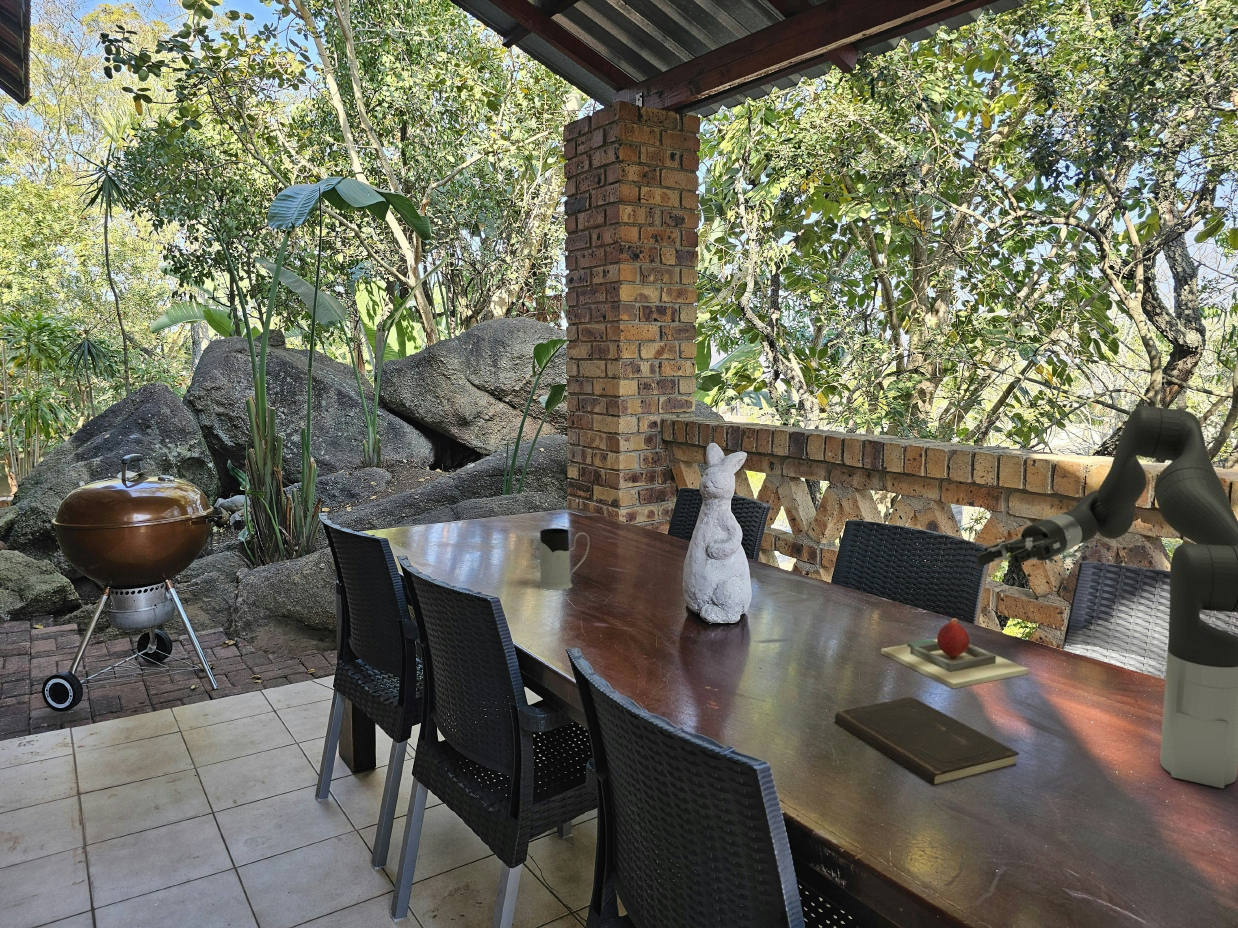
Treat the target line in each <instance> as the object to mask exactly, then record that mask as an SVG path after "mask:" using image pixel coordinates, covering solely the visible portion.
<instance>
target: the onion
mask: <svg viewBox="0 0 1238 928" xmlns="http://www.w3.org/2000/svg"><path fill="white" fill-rule="evenodd" d="M936 639H937V643H938V645H939V647H940V649H941V650H942V651H943V652H944V653H945V654H946V655H948V656H949V657H951V658H956V657H957V656H959V655H960V654H962V653H964V652H965V651H966V650H967V648H968V646H969V644H970V636H969V634H968V631H967V630H966V629H965V628H964V627H963V626H962V625H961V624H959V619H958V618H952V619H951V620H950V622H948V623H945V624H944V625H943V626H942V627H941V628H940V629H939V631H938V633H937V636H936Z"/></svg>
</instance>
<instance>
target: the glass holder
mask: <svg viewBox="0 0 1238 928" xmlns="http://www.w3.org/2000/svg"><path fill="white" fill-rule="evenodd" d="M569 532H570V531H569V529H568V528H567V529H566V528H561V527H559V528H558V527H554V528H552V527H551V528H546V529H545V528H543V529H541V530H540V531H539V535H540V536H539V537H540V538H539V560H540V561H539V562H540V565H539V566H540V584H539V586H540V588H542V589H546V590H562V591H565V590H564V589H567V590H569V588H570V589H572V587H573V584H572V580H571V579H572V577H571V576H572V574H573V573H574V572H575V571H576V570H577V569H578V568H579V567H580V566H581V565H582V564H583V562H584V561H585V559H586V558H587V556H588V553H589V550H590V549H589V548H590V537H589V535H588V534H586V533H585V532H578V533H577V534H576V535H574V537H573V541H572V542H573V544H572V545H573V546H572V547H571V548H570V533H569ZM580 535H584V536H585V537H586V538H587V547H586V550H585V553H584V556H583V557H582V559H581V560H580V562H578V563H577V565H576V566H575V567H573V569H572V570H571V552H570V551H573V550H574V549H575V547H576V540H577V538H578V537H579V536H580ZM540 588H539V589H540ZM542 589H541V590H542ZM546 590H545V591H546Z"/></svg>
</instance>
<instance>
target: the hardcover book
mask: <svg viewBox="0 0 1238 928" xmlns="http://www.w3.org/2000/svg"><path fill="white" fill-rule="evenodd" d="M834 723H836V725H838V726H840V727H841V728H843V729H844V730H846V731H848V732H849V733H851V734H852V735H854V736H856V737H857V738H859V739H860V740H861V741H863V742H865V743H866V744H868V745H869V746H871V747H873V748H874V749H876V750H877V751H879V752H880V753H882V754H884V755H885V756H887V757H888V758H890V759H891V760H893V761H894V762H896V763H898V764H899V765H901V766H902V767H904V768H905V769H907V770H908V771H910V772H912V773H913V774H915V775H916V776H918V777H920V778H921V779H923V780H924V781H925V782H927V783H928V784H931V786H935V785H937V784H942V783H945V781H946V782H949V781H954V780H958V779H961V778H965V777H970V776H973V775H977V774H981V773H984V772H988V771H991V770H996V769H1000V768H1005V767H1008V766H1012V765H1016V757H1017V756H1020V752H1018V751H1016V750H1014V749H1013V748H1010V747H1008V746H1007V745H1005V744H1003V743H1001V742H999V741H998V740H995V739H994V738H991V737H990V736H987V735H986V734H984V733H982V732H980V731H978V730H977V729H975V728H972V727H970V726H969V725H967V724H965V723H963V722H961V721H959V720H957V719H955V718H953V717H951V716H949V715H947V714H946V713H944V712H942V711H940V710H938V709H936V708H934V707H933V706H931V705H928V704H926V703H924V702H923V701H921V700H919V699H917V698H915V697H914V696H909V697H904V698H899V699H894V700H889V701H884V702H880V703H873V704H869V705H865V706H860V707H855V708H849V709H846V710H840V711H837V712H836V713H835V716H834Z"/></svg>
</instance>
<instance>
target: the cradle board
mask: <svg viewBox="0 0 1238 928" xmlns="http://www.w3.org/2000/svg"><path fill="white" fill-rule="evenodd" d="M880 654H881V655H884V656H885V657H887V658H889V659H891V660H893V661H895V662H898V663H900V664H902V665H903V666H906V667H907V668H910V669H912V670H914V671H916V672H918V673H920V674H922V675H925V676H927V677H929V678H930V679H933V680H934V681H937V682H938V683H941V684H943V685H945V686H947V687H949V688H950V689H958V688H965V687H968V686H974V685H978V684H983V683H987V682H988V683H989V682H993V681H998V680H1003V679H1007V678H1013V677H1018V676H1023V675H1028V674H1029V668H1028V667H1025V666H1024V665H1023V666H1022V665H1021V664H1018V663H1016V662H1013V661H1010V660H1009V659H1006V658H1004V657H1001V656H999V655H996V654H993V653H991V652H988V651H987V650H984V649H982V648H979V647H977V646H974V645H972V644H970V643H969V646H968V648H967V650H966V651H965V652H964V653H962V654H960V655H959V656H957V657H956V658H951V657H949V656H948V655H946V654H945V653H944V652H943V651H942V650H941V649H940V647H939V645H938V643H937V638H936V639H932V638H928V639H923V640H916V641H911V642H907V643H906V644H901V645H896V646H891V647H885V648H884V647H883V648H881V649H880Z"/></svg>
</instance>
